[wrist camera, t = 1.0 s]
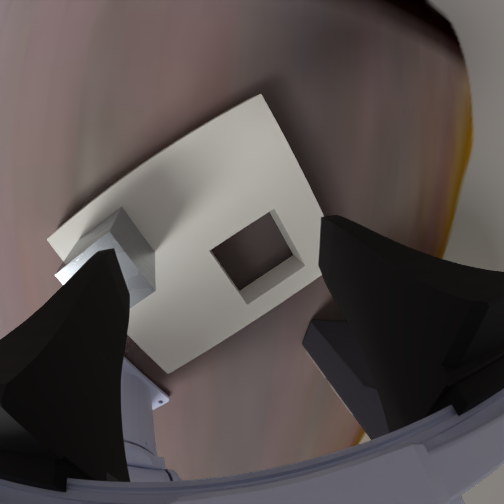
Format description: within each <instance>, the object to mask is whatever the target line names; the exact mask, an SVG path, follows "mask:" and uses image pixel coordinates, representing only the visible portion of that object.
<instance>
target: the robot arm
mask: <svg viewBox="0 0 504 504" xmlns="http://www.w3.org/2000/svg"><path fill="white" fill-rule="evenodd" d="M318 266H319V268H320V271H321V273H322V276H323V278H324V281H325V283H326V285H327V287H328V289H329V291H330V293H331V294H332V296H333V298H334V300H335V301H336V303H337V305H338V306H339V308H340V310H341V311H342V313H343V315H344V316H345V318H346V320H347V322H348V323H349V325H350V327H351V328H352V330H353V332H354V334H355V336H356V338H357V340H358V342H359V344H360V346H361V349H362V351H363V353H364V356H365V358H366V361H367V363H368V366H369V368H370V371H371V374H372V376H373V379H374V382H375V385H376V388H377V391H378V394H379V397H380V400H381V404H382V407H383V410H384V414H385V418H386V422H387V426H388V430H389V433H388V434H386V435H383V436H381V437H378V438H376V439H373V440H370V441H367V442H365V443H362V444H359V445H356V446H353V447H350V448H347V449H344V450H341V451H337V452H334V453H331V454H327V455H324V456H320V457H317V458H313V459H309V460H306V461H302V462H298V463H293V464H289V465H285V466H280V467H276V468H271V469H266V470H261V471H255V472H249V473H243V474H237V475H230V476H223V477H215V478H206V479H195V480H183V481H182V479H181V478H180V477H179V476H178V474H177V473H176V472H175V471H174V470H171V469H165V462H164V458H163V457H158V456H157V452H156V443H155V433H154V423H153V411H152V410H154V409H156V408H158V407H160V406H161V405H163V404H165V403H167V402H168V401H169V396H168V395H167V394H166V393H164V392H163V391H162V390H161V389H160V388H159V387H157V386H156V385H155V384H154V383H153V382H152V381H151V380H149V379H148V378H147V377H146V376H145V375H144V374H143V373H142V372H141V371H139V370H138V369H137V368H136V367H135V366H134V365H133V364H132V363H131V362H130V361H129V360H128V359H126V358H125V357H124V351H125V344H126V338H127V331H128V325H129V315H130V293H129V290H128V288H127V285H126V282H125V279H124V276H123V273H122V271H121V268H120V265H119V262H118V259H117V256H116V252H115V249H114V248H112V249H107V250H101V251H98V252H96V253H95V254H94V255H93V256H92V257H91V258H90V259H88V260H87V261H86V262H85V263H84V264H83V266H82V267H81V268H80V269H79V270H78V271H77V272H76V273H75V274H74V275H73V276H72V277H71V278H70V279H69V280H68V281H67V282H66V283H65V284H64V285H63V286H62V287H61V288H60V289H59V290H58V291H57V292H56V293H55V294H54V295H53V296H52V297H51V298H50V299H49V300H48V301H47V302H46V303H45V304H44V305H43V306H42V307H41V308H40V309H39V310H37V311H36V312H35V313H34V314H33V315H32V316H30V317H29V318H28V319H27V320H26V321H25V322H23V323H22V324H21V325H19V326H18V327H17V328H15V329H14V330H13V331H11V332H10V333H9V334H7V335H6V336H5V337H3V338H2V339H1V340H0V504H465V503H464V501H463V499H462V496H461V495H462V494H463V493H465V492H466V491H468V490H469V489H471V488H472V487H473V486H475V485H476V484H478V483H479V482H480V481H482V480H483V479H485V478H486V477H487V476H489V475H490V474H491V473H492V472H494V471H495V470H496V469H497V468H499V467H500V466H501V465H503V464H504V272H499V271H491V270H485V269H480V268H475V267H470V266H466V265H461V264H457V263H453V262H450V261H447V260H443V259H440V258H437V257H433V256H431V255H428V254H425V253H422V252H419V251H417V250H414V249H412V248H409V247H407V246H404V245H402V244H400V243H398V242H395V241H393V240H391V239H389V238H386V237H384V236H382V235H380V234H378V233H376V232H374V231H372V230H370V229H368V228H366V227H364V226H362V225H359V224H357V223H355V222H353V221H351V220H349V219H346V218H344V217H341V216H338V215H333V216H326V217H321V227H320V245H319V261H318ZM160 400H162V401H160Z"/></svg>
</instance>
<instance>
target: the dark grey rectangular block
mask: <svg viewBox="0 0 504 504" xmlns="http://www.w3.org/2000/svg"><path fill="white" fill-rule="evenodd" d="M302 345H303V346H304V348H305V349H306V352H307V354H308V355H309V356H310V358H311V359H312V361H313V362H314V363H315V365H316V366H317V368H318V369H319V370H320V372H321V373H322V375H323V376H324V377H325V378H327V380H328V381H329V384H330V386H331V387H332V389H333V390H334V391H335V393H336V394H337V395H338V397H339V398H340V400H341V401H342V402H343V404H344V405H345V407H346V408H347V409H348V411H349V412H350V413H351V414H352V415H353V416H354V417H355V418H356V420H357V421H358V422H359V424H360V425H361V426H362V428H363V429H364V431H365V432H366V433H367V435H368V436H369V437H370V439H371V440H373V439H376V438H378V437H381V436H383V435H386V434H388V433H389V430H388V426H387V422H386V418H385V414H384V410H383V407H382V404H381V400H380V397H379V394H378V391H377V388H376V385H375V382H374V379H373V376H372V374H371V371H370V368H369V366H368V363H367V361H366V358H365V356H364V353H363V351H362V349H361V346H360V344H359V342H358V340H357V338H356V336H355V334H354V332H353V330H352V328H351V327H350V325H349V323H348V322H347V321H326V320H312V321H311V322H310V325H309V327H308V330H307V332H306V335H305V338H304V340H303V343H302Z"/></svg>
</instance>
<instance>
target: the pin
mask: <svg viewBox="0 0 504 504" xmlns="http://www.w3.org/2000/svg"><path fill="white" fill-rule="evenodd" d="M112 248H114V249H115V252H116V256H117V259H118V262H119V265H120V268H121V271H122V273H123V276H124V279H125V282H126V285H127V288H128V290H129V293H130V308H131V307H133V306H134V305H136V304H137V303H139V302H140V301H142V300H143V299H145V298H146V297H148V296H149V295H150V294H152V293H153V292H155V291H156V282H155V251H154V250H153V249H152V247H151V246H150V245H149V243H148V242H147V241H146V239H145V238H144V237H143V235H142V234H141V232H140V231H139V230H138V228H137V227H136V226H135V224H134V223H133V221H132V220H131V219H130V217H129V216H128V214H127V213H126V212H125V210H124V209H123V207H120V208H119V209H118V210H116V211H115V212H113V213H112V214H111V215H109V216H108V217H107V218H106V219H104V220H103V221H102V222H100V223H99V224H98V225H96V226H95V227H94V228H93V229H91V230H90V231H89V232H87V233H86V234H85V235H84V236H82V237H81V238H80V239H79V240H78V241H77V242H76V244H75V245H74V247H73V248H72V250H71V251H70V253H69V254H68V256H67V257H66V259H65V260H64V262H63V263H62V265H61V266H60V268H59V269H58V271H57V273H56V274H55V276H56V277H57V278H58V279H59V281H60V282H61V283H62V284H63V285H64V284H65V283H66V282H67V281H68V280H69V279H70V278H71V277H72V276H73V275H74V274H75V273H76V272H77V271H78V270H79V269H80V268H81V267H82V266H83V264H84V263H85V262H86V261H87V260H88V259H90V258H91V257H92V256H93V255H94V254H95V253H96V252H98V251H101V250H107V249H112Z"/></svg>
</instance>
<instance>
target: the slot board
mask: <svg viewBox="0 0 504 504" xmlns="http://www.w3.org/2000/svg"><path fill="white" fill-rule="evenodd" d="M120 207H123V209H124V210H125V212H126V213H127V214H128V216H129V217H130V219H131V220H132V221H133V223H134V224H135V226H136V227H137V228H138V230H139V231H140V232H141V234H142V235H143V237H144V238H145V239H146V241H147V242H148V243H149V245H150V246H151V247H152V249H153V250H154V251H155V282H156V291H155V292H153V293H152V294H150V295H149V296H148V297H146V298H145V299H143V300H142V301H140V302H139V303H137V304H136V305H134V306H133V307H131V308H130V315H129V325H128V331H127V335H128V336H129V337H130V338H131V339H132V340H133V341H134V342H135V343H136V344H137V345H138V346H139V347H140V348H141V349H142V350H143V351H144V352H145V353H146V354H147V355H148V356H149V357H150V358H151V359H153V360H154V361H155V362H156V363H157V364H158V365H159V366H160V367H161V368H162V369H163V370H164V371H165V372H166V373H167V374H169V373H171V372H173V371H174V370H176V369H178V368H179V367H181V366H183V365H184V364H186V363H188V362H189V361H191V360H193V359H194V358H196V357H198V356H199V355H201V354H202V353H204V352H206V351H207V350H209V349H211V348H212V347H214V346H215V345H217V344H219V343H220V342H222V341H223V340H225V339H226V338H228V337H230V336H231V335H233V334H234V333H236V332H237V331H239V330H241V329H242V328H244V327H245V326H247V325H248V324H250V323H251V322H253V321H255V320H256V319H258V318H259V317H261V316H262V315H264V314H265V313H267V312H268V311H270V310H271V309H273V308H274V307H276V306H277V305H279V304H280V303H282V302H283V301H285V300H286V299H288V298H289V297H291V296H292V295H294V294H295V293H296V292H298V291H299V290H301V289H302V288H304V287H305V286H307V285H308V284H310V283H311V282H312V281H314V280H315V279H317V278H318V277H320V276H321V275H322V273H321V271H320V268H319V266H318V261H319V245H320V227H321V217H324V215H323V213H322V211H321V209H320V207H319V204H318V202H317V200H316V198H315V196H314V194H313V192H312V190H311V188H310V186H309V184H308V182H307V180H306V178H305V176H304V174H303V172H302V170H301V168H300V166H299V164H298V162H297V160H296V158H295V156H294V154H293V152H292V150H291V148H290V146H289V144H288V142H287V140H286V138H285V137H284V135H283V133H282V131H281V129H280V127H279V125H278V123H277V122H276V120H275V118H274V116H273V114H272V112H271V111H270V109H269V107H268V105H267V103H266V102H265V100H264V98H263V96H262V95H261V94H259V95H256V96H254V97H251V98H249V99H247V100H245V101H244V102H242V103H240V104H238V105H236V106H234V107H233V108H231V109H229V110H227V111H225V112H224V113H222V114H220V115H218V116H217V117H215V118H213V119H211V120H210V121H208V122H206V123H204V124H203V125H201V126H199V127H198V128H196V129H194V130H193V131H191V132H190V133H188V134H186V135H185V136H183V137H181V138H180V139H178V140H177V141H175V142H174V143H172V144H170V145H169V146H167V147H166V148H164V149H163V150H161V151H160V152H158V153H157V154H155V155H154V156H152V157H151V158H149V159H148V160H146V161H145V162H143V163H142V164H141V165H139V166H138V167H136V168H135V169H133V170H132V171H131V172H129V173H128V174H126V175H125V176H124V177H122V178H121V179H119V180H118V181H117V182H115V183H114V184H113V185H111V186H110V187H109V188H107V189H106V190H105V191H103V192H102V193H101V194H99V195H98V196H97V197H96V198H94V199H93V200H92V201H90V202H89V203H88V204H87V205H85V206H84V207H83V208H82V209H80V210H79V211H78V212H77V213H75V214H74V215H73V216H72V217H71V218H69V219H68V220H67V221H66V222H65V223H63V224H62V225H61V226H60V227H59V228H58V229H56V230H55V231H54V232H53V233H52V235H51V236H50V237H49V238H48V239H47V240H48V242H49V243H50V244H51V246H52V247H53V248H54V250H55V251H56V252H57V254H58V255H59V256H60V258H61V259H62V260H63V261H64V260H65V259H66V257H67V256H68V254H69V253H70V251H71V250H72V248H73V247H74V245H75V244H76V242H77V241H78V240H79V239H80V238H81V237H82V236H84V235H85V234H86V233H87V232H89V231H90V230H91V229H93V228H94V227H95V226H96V225H98V224H99V223H100V222H102V221H103V220H104V219H106V218H107V217H108V216H109V215H111V214H112V213H113V212H115V211H116V210H118V209H119V208H120ZM268 212H270V214H271V216H272V218H273V219H274V221H275V223H276V225H277V227H278V228H279V230H280V232H281V234H282V236H283V237H284V239H285V241H286V243H287V245H288V246H289V248H290V250H291V252H292V254H293V255H292V256H291V257H289V258H288V259H286V260H285V261H283V262H282V263H280V264H279V265H277V266H276V267H274V268H273V269H271V270H270V271H268V272H267V273H265V274H264V275H262V276H261V277H259V278H258V279H256V280H255V281H253V282H252V283H250V284H249V285H247V286H246V287H244V288H243V289H241V290H240V291H239V290H238V288H237V287H236V285H235V284H234V283H233V281H232V280H231V278H230V277H229V275H228V274H227V272H226V271H225V270H224V268H223V267H222V265H221V264H220V262H219V261H218V260H217V258H216V257H215V255H214V254H213V252H212V251H211V249H213V248H214V247H216V246H217V245H219V244H220V243H222V242H223V241H225V240H226V239H228V238H230V237H231V236H233V235H234V234H236V233H237V232H239V231H240V230H242V229H243V228H245V227H246V226H248V225H249V224H251V223H252V222H254V221H256V220H257V219H259V218H260V217H262V216H263V215H265V214H266V213H268Z"/></svg>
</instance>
